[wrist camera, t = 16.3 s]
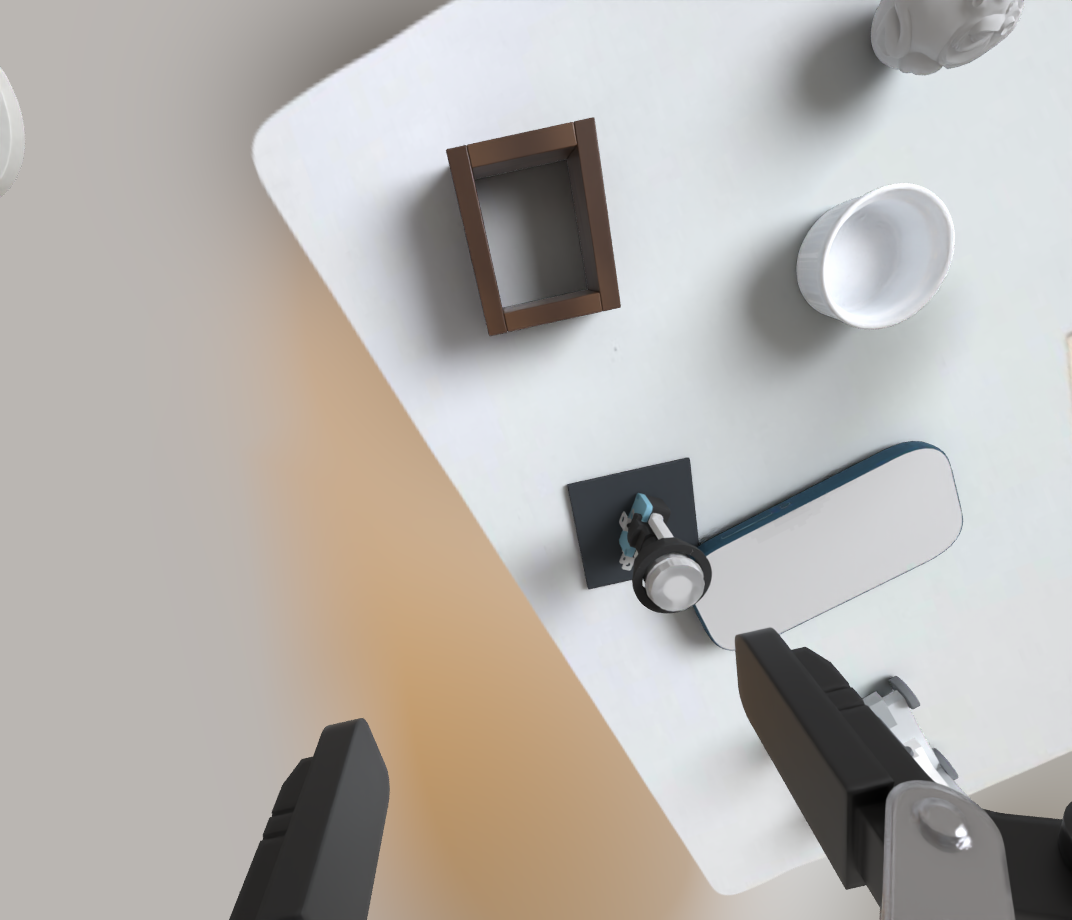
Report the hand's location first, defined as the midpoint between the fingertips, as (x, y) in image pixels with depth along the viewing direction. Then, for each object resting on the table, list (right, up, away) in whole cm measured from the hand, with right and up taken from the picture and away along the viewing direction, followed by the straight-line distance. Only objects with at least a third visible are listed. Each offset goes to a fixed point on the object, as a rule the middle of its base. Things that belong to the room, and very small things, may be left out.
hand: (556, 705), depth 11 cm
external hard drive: (+24, -2, +35) cm, 42 cm away
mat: (+8, 0, +33) cm, 34 cm away
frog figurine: (+22, +32, +23) cm, 45 cm away
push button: (+8, 0, +33) cm, 34 cm away
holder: (-1, +20, +25) cm, 32 cm away
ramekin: (+22, +20, +27) cm, 40 cm away
